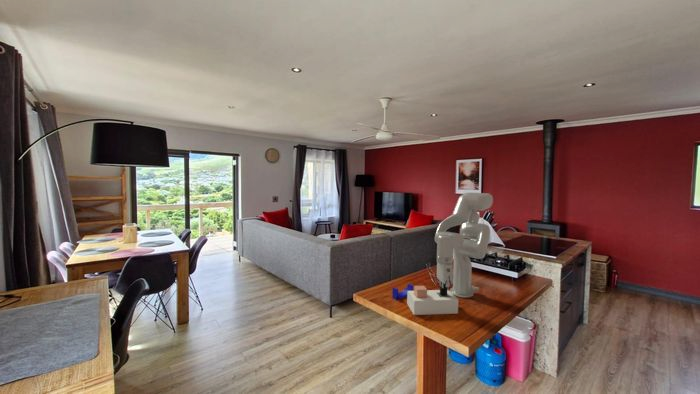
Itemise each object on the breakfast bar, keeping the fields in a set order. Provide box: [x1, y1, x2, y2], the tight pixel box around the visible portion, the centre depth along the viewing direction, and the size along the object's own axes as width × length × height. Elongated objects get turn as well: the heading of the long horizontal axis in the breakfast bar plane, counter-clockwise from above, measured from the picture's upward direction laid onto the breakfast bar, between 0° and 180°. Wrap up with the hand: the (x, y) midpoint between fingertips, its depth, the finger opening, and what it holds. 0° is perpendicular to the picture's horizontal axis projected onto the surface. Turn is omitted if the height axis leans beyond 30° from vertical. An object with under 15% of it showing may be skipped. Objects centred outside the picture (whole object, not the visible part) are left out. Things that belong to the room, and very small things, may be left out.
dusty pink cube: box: [413, 285, 428, 298], centre depth 144 cm, size 5×5×6 cm
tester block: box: [406, 289, 459, 316], centre depth 145 cm, size 22×12×7 cm, turn 95°
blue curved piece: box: [392, 283, 414, 301], centre depth 159 cm, size 12×4×6 cm, turn 118°
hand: (443, 294), depth 145 cm, fingers closed
